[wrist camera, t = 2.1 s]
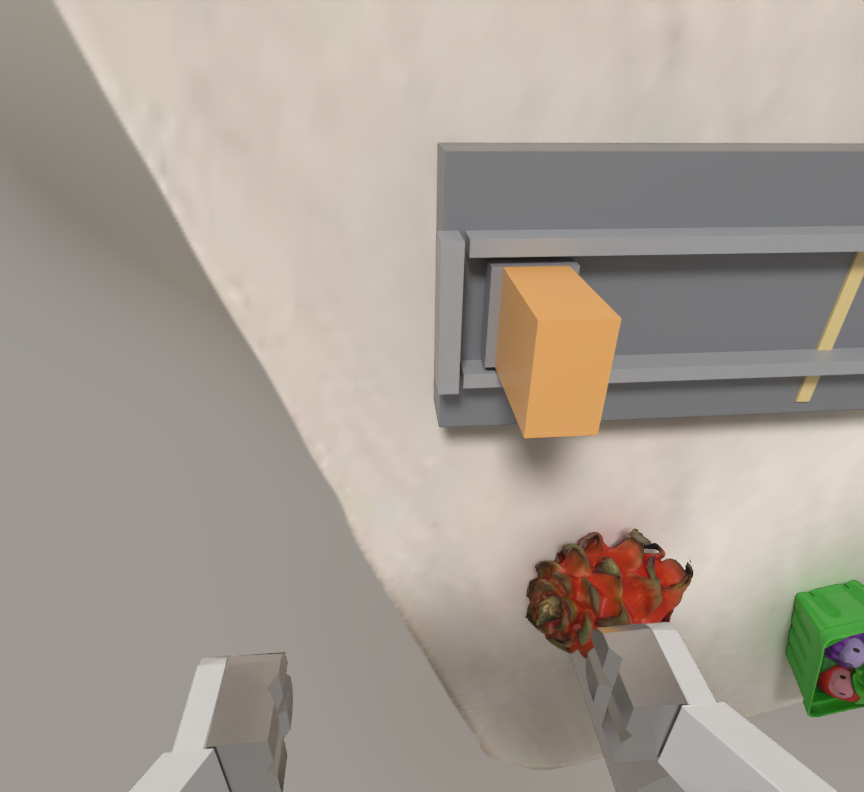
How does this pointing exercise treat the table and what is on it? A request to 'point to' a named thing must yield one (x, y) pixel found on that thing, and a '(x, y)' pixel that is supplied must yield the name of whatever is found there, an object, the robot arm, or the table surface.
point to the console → (666, 270)
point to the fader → (548, 344)
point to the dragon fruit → (603, 589)
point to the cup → (633, 780)
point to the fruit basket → (829, 648)
